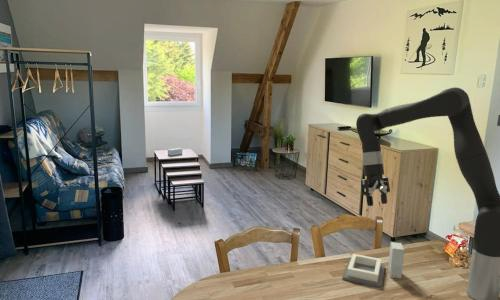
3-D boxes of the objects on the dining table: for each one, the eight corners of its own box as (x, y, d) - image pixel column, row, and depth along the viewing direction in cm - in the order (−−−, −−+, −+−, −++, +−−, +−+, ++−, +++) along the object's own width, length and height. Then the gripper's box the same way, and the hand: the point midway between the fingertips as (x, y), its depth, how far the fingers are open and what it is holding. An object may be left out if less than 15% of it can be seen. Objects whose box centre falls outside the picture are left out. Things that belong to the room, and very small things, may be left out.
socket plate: (384, 267, 154) (385, 258, 153) (381, 287, 140) (382, 277, 139) (349, 260, 160) (349, 251, 159) (342, 279, 145) (343, 269, 145)
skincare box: (401, 278, 146) (404, 249, 143) (390, 277, 147) (392, 248, 144) (399, 270, 152) (401, 242, 149) (387, 269, 153) (390, 241, 150)
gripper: (369, 163, 145) (373, 206, 143) (392, 162, 153) (397, 202, 151) (353, 165, 151) (357, 206, 150) (376, 163, 159) (381, 203, 158)
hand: (377, 204), depth 151 cm, fingers open, 8 cm apart
